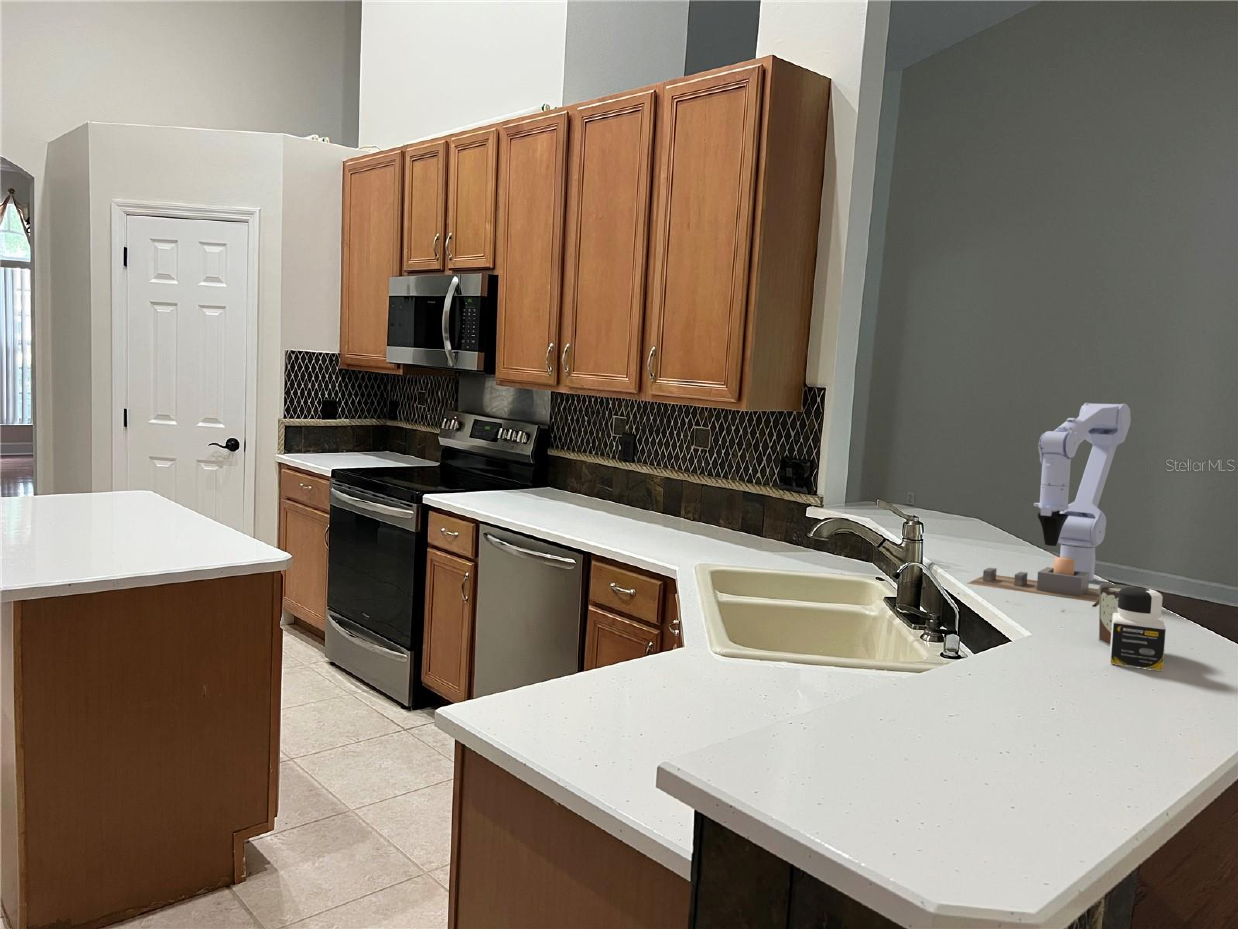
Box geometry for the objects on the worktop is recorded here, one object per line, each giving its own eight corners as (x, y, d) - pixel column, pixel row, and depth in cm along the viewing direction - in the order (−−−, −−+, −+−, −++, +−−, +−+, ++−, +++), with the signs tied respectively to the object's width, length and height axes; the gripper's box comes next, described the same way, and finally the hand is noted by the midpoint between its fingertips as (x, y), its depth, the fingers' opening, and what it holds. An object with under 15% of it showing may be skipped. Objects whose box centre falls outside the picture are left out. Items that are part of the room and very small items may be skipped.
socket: (1045, 584, 204) (1047, 567, 204) (1088, 590, 199) (1089, 572, 198) (1036, 590, 197) (1037, 572, 197) (1080, 596, 192) (1081, 577, 192)
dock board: (987, 578, 215) (988, 563, 215) (1109, 595, 200) (1111, 579, 199) (966, 587, 203) (967, 572, 202) (1096, 606, 187) (1097, 590, 187)
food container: (1170, 659, 148) (1175, 599, 147) (1132, 658, 148) (1137, 597, 147) (1129, 639, 160) (1133, 583, 159) (1094, 638, 160) (1098, 582, 160)
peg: (1054, 587, 201) (1056, 556, 200) (1074, 590, 198) (1076, 558, 198) (1050, 590, 198) (1052, 558, 197) (1070, 593, 195) (1072, 561, 195)
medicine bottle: (1110, 665, 143) (1115, 590, 143) (1109, 654, 150) (1114, 582, 149) (1162, 672, 140) (1168, 596, 139) (1159, 661, 146) (1165, 588, 146)
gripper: (1043, 482, 211) (1039, 539, 212) (1027, 485, 199) (1023, 546, 200) (1076, 484, 207) (1072, 543, 208) (1062, 488, 195) (1058, 550, 196)
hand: (1050, 545), depth 204 cm, fingers closed
